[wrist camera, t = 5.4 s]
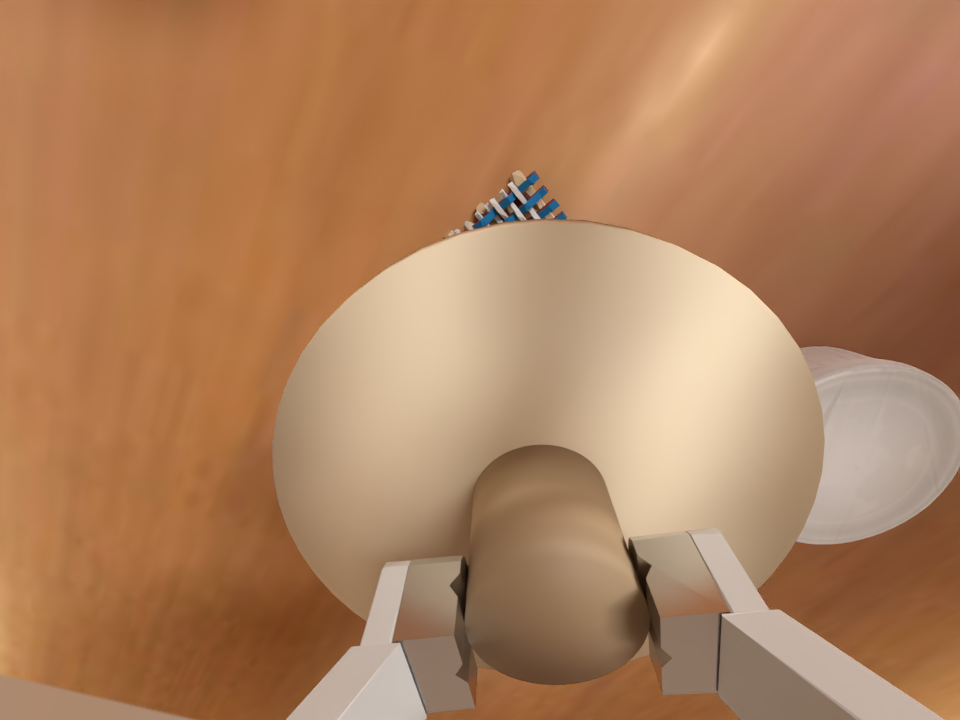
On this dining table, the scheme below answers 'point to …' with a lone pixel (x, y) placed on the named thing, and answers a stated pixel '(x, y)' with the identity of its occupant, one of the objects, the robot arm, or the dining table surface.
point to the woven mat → (508, 209)
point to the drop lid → (545, 433)
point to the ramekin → (878, 444)
